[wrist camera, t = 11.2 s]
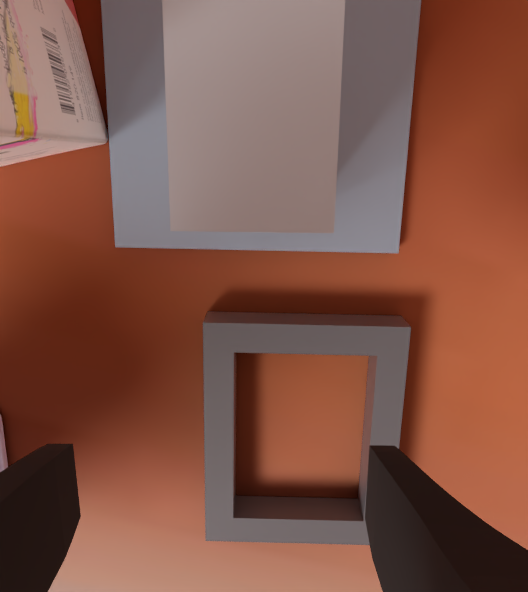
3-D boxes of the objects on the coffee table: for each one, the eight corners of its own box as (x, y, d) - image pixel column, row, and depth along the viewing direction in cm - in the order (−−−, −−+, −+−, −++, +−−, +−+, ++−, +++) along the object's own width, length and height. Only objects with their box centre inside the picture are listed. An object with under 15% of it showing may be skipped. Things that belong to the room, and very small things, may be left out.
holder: (209, 517, 23) (205, 540, 22) (207, 311, 21) (202, 322, 19) (381, 521, 23) (389, 545, 22) (401, 315, 21) (411, 327, 19)
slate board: (119, 244, 20) (115, 247, 19) (104, -27, 18) (98, -33, 17) (394, 250, 20) (398, 253, 19) (418, -22, 18) (423, -28, 17)
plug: (206, 206, 19) (170, 231, 12) (202, 32, 17) (160, -49, 11) (311, 207, 19) (334, 233, 12) (317, 33, 17) (347, -48, 11)
